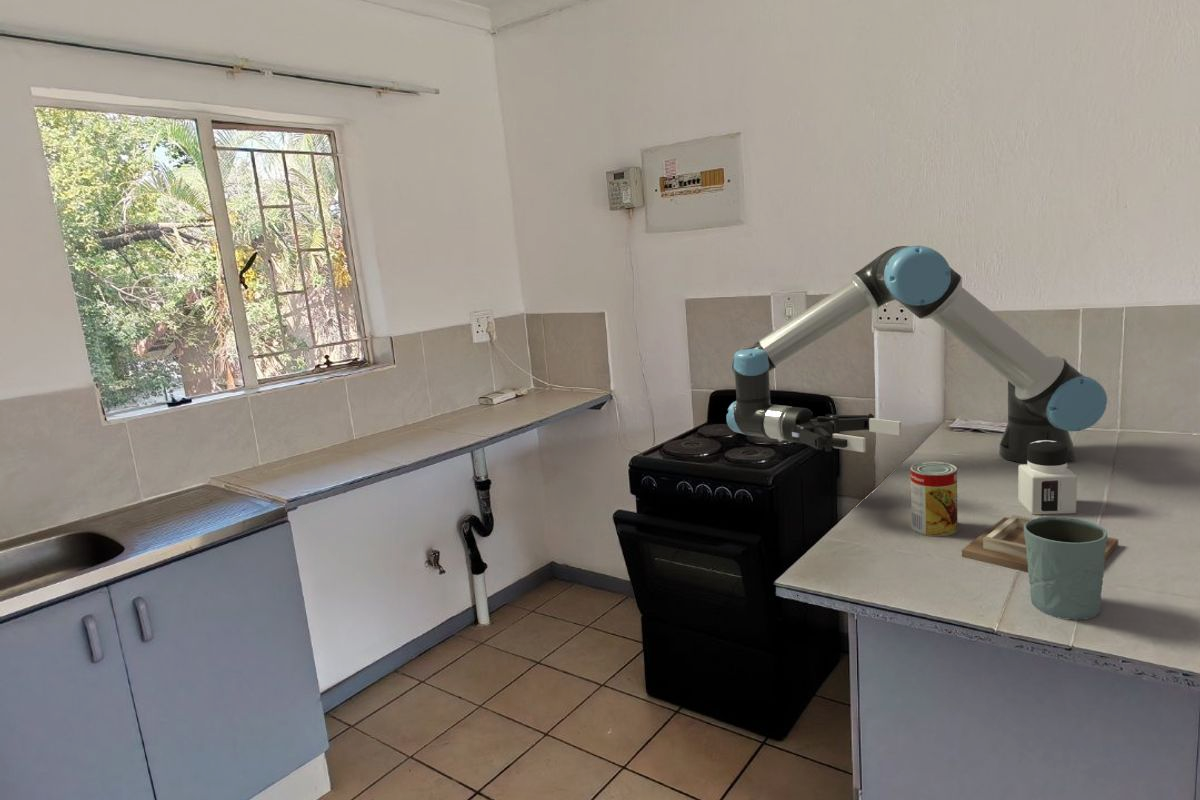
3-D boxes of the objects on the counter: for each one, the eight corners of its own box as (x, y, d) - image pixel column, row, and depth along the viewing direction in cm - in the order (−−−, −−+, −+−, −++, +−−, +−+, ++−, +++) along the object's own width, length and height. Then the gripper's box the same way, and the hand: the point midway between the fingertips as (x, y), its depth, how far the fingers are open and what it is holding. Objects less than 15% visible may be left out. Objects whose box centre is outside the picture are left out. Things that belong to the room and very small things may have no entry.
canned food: (967, 531, 136) (966, 469, 134) (931, 539, 134) (930, 477, 132) (936, 517, 143) (935, 458, 141) (902, 525, 141) (901, 466, 139)
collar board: (1004, 523, 138) (1004, 508, 137) (1118, 545, 124) (1118, 529, 123) (961, 556, 126) (961, 539, 126) (1081, 584, 113) (1082, 566, 112)
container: (1076, 514, 138) (1078, 447, 136) (1031, 515, 140) (1032, 449, 137) (1060, 499, 146) (1061, 436, 143) (1017, 501, 147) (1018, 438, 145)
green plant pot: (1113, 625, 101) (1116, 544, 99) (1030, 619, 105) (1031, 541, 103) (1093, 591, 111) (1096, 516, 108) (1017, 587, 114) (1018, 514, 112)
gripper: (823, 427, 167) (914, 439, 151) (755, 455, 152) (848, 472, 136) (822, 395, 166) (913, 404, 150) (753, 420, 150) (847, 432, 134)
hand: (883, 436), depth 143 cm, fingers open, 13 cm apart
